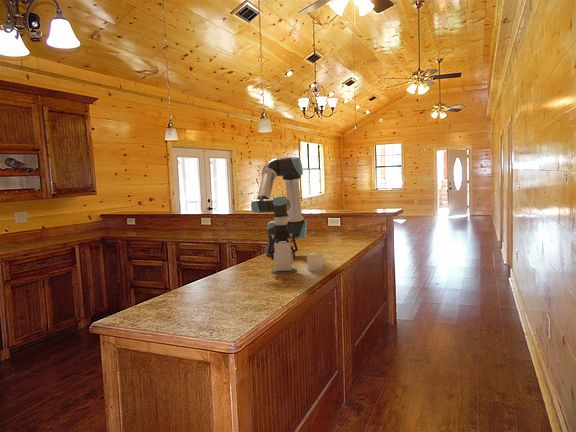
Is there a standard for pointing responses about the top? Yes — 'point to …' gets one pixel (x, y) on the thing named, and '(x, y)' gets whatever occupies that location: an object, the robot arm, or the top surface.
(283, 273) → the base disk
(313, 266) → the beige rounded cylinder
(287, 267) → the supplement box
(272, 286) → the top surface
